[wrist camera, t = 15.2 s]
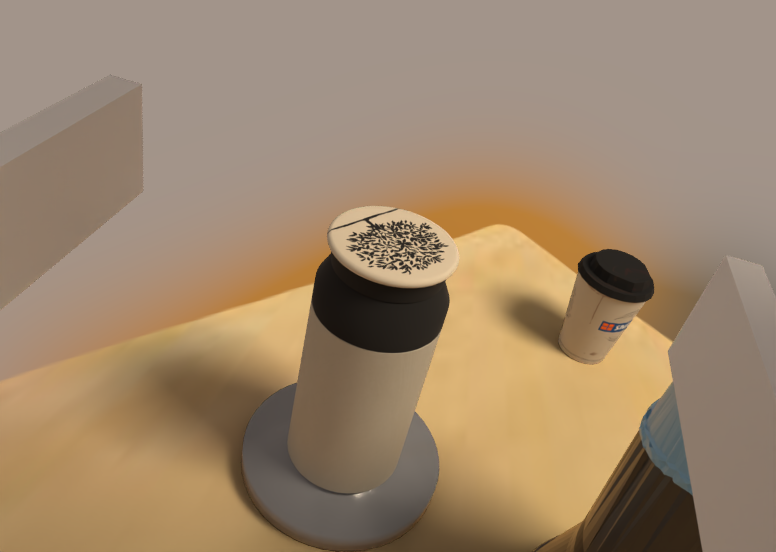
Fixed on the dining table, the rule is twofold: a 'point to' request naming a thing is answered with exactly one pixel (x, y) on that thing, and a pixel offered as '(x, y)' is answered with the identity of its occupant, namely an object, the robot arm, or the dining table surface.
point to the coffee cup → (603, 303)
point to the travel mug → (368, 345)
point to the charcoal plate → (327, 508)
